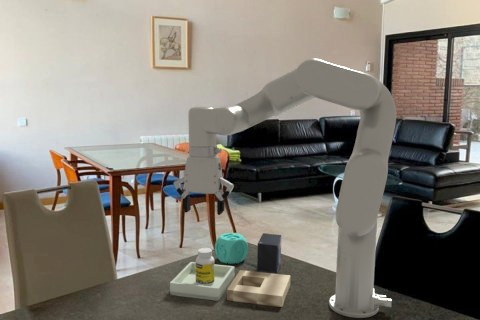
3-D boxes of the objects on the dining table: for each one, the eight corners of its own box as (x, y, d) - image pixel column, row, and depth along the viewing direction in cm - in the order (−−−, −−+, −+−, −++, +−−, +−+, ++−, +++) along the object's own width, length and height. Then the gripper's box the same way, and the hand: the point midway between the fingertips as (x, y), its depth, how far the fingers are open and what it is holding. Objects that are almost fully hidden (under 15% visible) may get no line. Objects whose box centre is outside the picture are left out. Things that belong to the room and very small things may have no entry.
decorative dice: (233, 253, 162) (233, 231, 161) (248, 260, 156) (248, 237, 155) (214, 258, 157) (214, 235, 156) (229, 266, 151) (229, 242, 150)
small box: (277, 278, 141) (278, 245, 140) (256, 276, 143) (256, 243, 141) (281, 265, 152) (282, 234, 150) (261, 263, 153) (262, 232, 151)
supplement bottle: (193, 285, 134) (192, 252, 132) (199, 278, 139) (198, 246, 137) (211, 287, 132) (211, 254, 131) (216, 279, 138) (216, 247, 136)
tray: (234, 277, 142) (234, 266, 141) (218, 300, 127) (218, 288, 126) (190, 272, 145) (190, 261, 145) (170, 294, 130) (169, 282, 129)
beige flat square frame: (290, 285, 137) (290, 275, 136) (282, 307, 123) (282, 296, 123) (240, 279, 140) (240, 270, 140) (226, 300, 127) (226, 289, 126)
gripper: (236, 151, 131) (237, 211, 134) (178, 149, 135) (179, 207, 138) (229, 155, 124) (229, 218, 127) (168, 152, 128) (169, 213, 131)
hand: (203, 212), depth 132 cm, fingers open, 9 cm apart
